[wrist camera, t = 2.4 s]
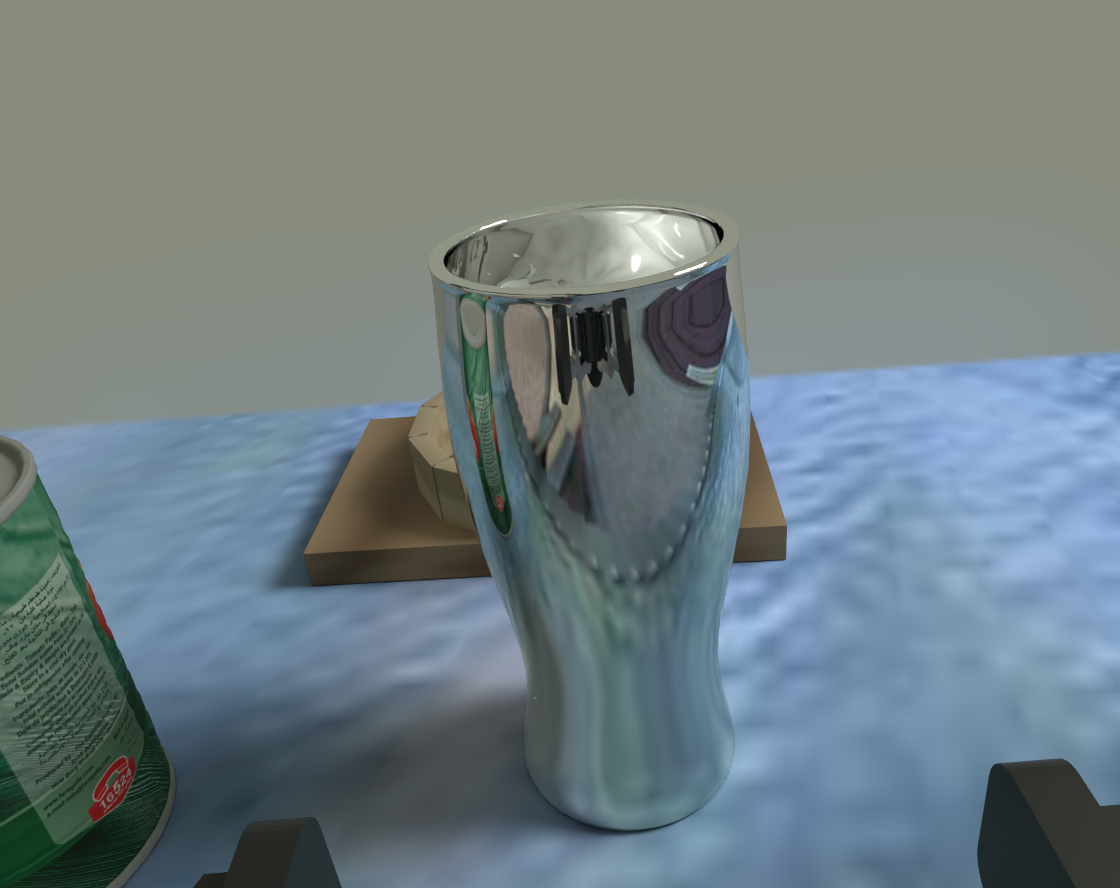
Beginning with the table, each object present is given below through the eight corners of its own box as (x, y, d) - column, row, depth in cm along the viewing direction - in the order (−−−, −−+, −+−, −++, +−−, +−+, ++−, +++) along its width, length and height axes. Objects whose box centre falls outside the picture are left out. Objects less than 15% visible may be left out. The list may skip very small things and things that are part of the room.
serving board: (312, 585, 34) (286, 498, 32) (376, 446, 44) (359, 372, 42) (785, 559, 33) (787, 465, 31) (745, 420, 42) (744, 343, 40)
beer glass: (551, 647, 30) (488, 200, 23) (762, 675, 28) (767, 191, 21) (474, 820, 24) (357, 295, 17) (733, 873, 22) (724, 297, 15)
